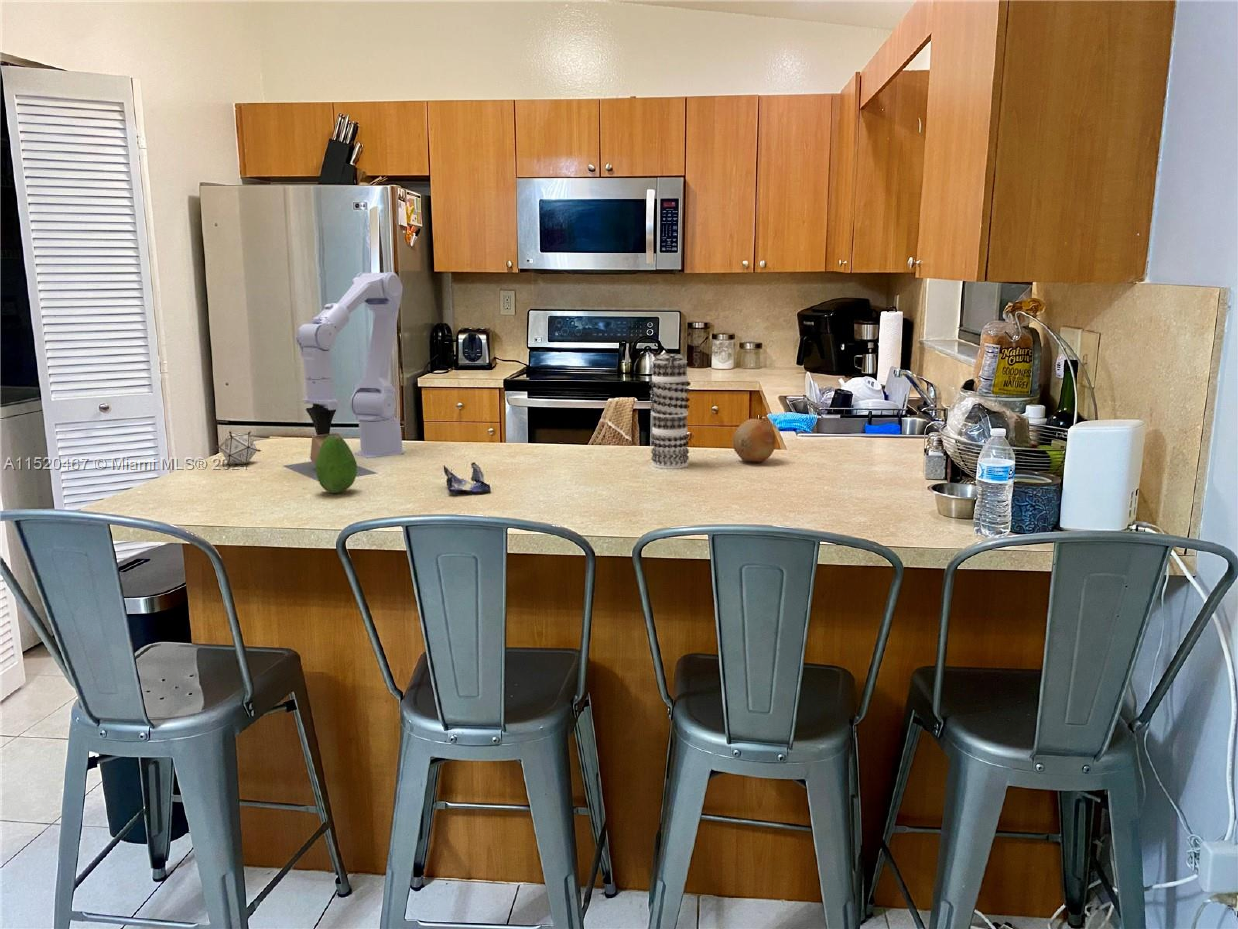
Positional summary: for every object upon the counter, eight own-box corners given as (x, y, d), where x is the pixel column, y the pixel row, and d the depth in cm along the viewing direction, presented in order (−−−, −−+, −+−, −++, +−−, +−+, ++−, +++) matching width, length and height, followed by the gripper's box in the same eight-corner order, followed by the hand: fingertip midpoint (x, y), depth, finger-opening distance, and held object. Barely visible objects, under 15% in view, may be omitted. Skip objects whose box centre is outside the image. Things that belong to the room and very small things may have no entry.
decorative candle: (669, 471, 200) (669, 357, 195) (641, 464, 207) (640, 354, 201) (698, 465, 206) (699, 354, 200) (670, 459, 213) (669, 352, 207)
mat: (336, 459, 218) (335, 457, 218) (378, 474, 200) (378, 473, 200) (281, 467, 210) (281, 465, 209) (321, 484, 192) (321, 482, 192)
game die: (250, 479, 214) (274, 444, 215) (231, 474, 206) (256, 437, 207) (221, 459, 216) (245, 424, 217) (201, 453, 208) (226, 417, 208)
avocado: (321, 499, 179) (316, 439, 177) (314, 491, 186) (309, 433, 184) (362, 494, 183) (358, 435, 180) (354, 486, 190) (350, 430, 187)
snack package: (503, 485, 191) (450, 482, 193) (501, 456, 189) (447, 454, 190) (485, 508, 180) (429, 505, 182) (483, 479, 178) (426, 475, 180)
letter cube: (337, 432, 206) (349, 447, 202) (335, 454, 209) (346, 469, 205) (312, 435, 202) (323, 450, 198) (309, 458, 205) (320, 473, 201)
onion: (727, 465, 205) (727, 421, 203) (738, 456, 214) (739, 414, 212) (769, 468, 202) (770, 423, 200) (779, 459, 211) (780, 416, 209)
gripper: (288, 376, 205) (293, 436, 207) (313, 382, 194) (318, 444, 196) (319, 374, 209) (323, 432, 212) (345, 379, 198) (349, 440, 201)
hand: (323, 438), depth 204 cm, fingers closed
